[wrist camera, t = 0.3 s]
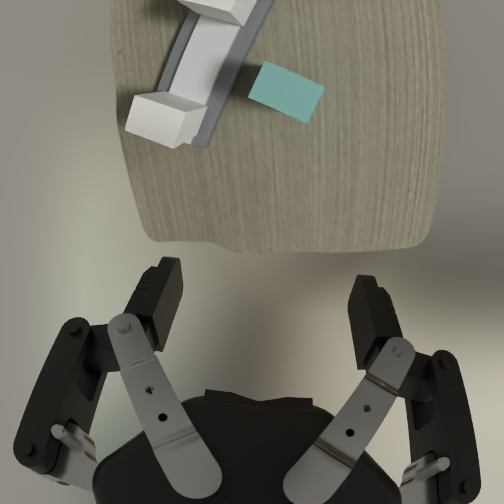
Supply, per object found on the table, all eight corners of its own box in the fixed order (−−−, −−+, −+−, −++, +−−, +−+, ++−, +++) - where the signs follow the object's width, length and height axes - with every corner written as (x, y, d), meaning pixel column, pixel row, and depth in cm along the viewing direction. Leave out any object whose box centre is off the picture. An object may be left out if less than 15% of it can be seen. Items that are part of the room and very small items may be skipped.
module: (272, 67, 32) (265, 60, 23) (317, 87, 32) (325, 87, 24) (259, 94, 34) (247, 97, 25) (303, 114, 35) (306, 123, 26)
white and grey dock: (209, -20, 26) (182, -47, 17) (275, -1, 27) (268, -28, 18) (150, 124, 37) (110, 138, 29) (208, 146, 38) (181, 166, 29)
